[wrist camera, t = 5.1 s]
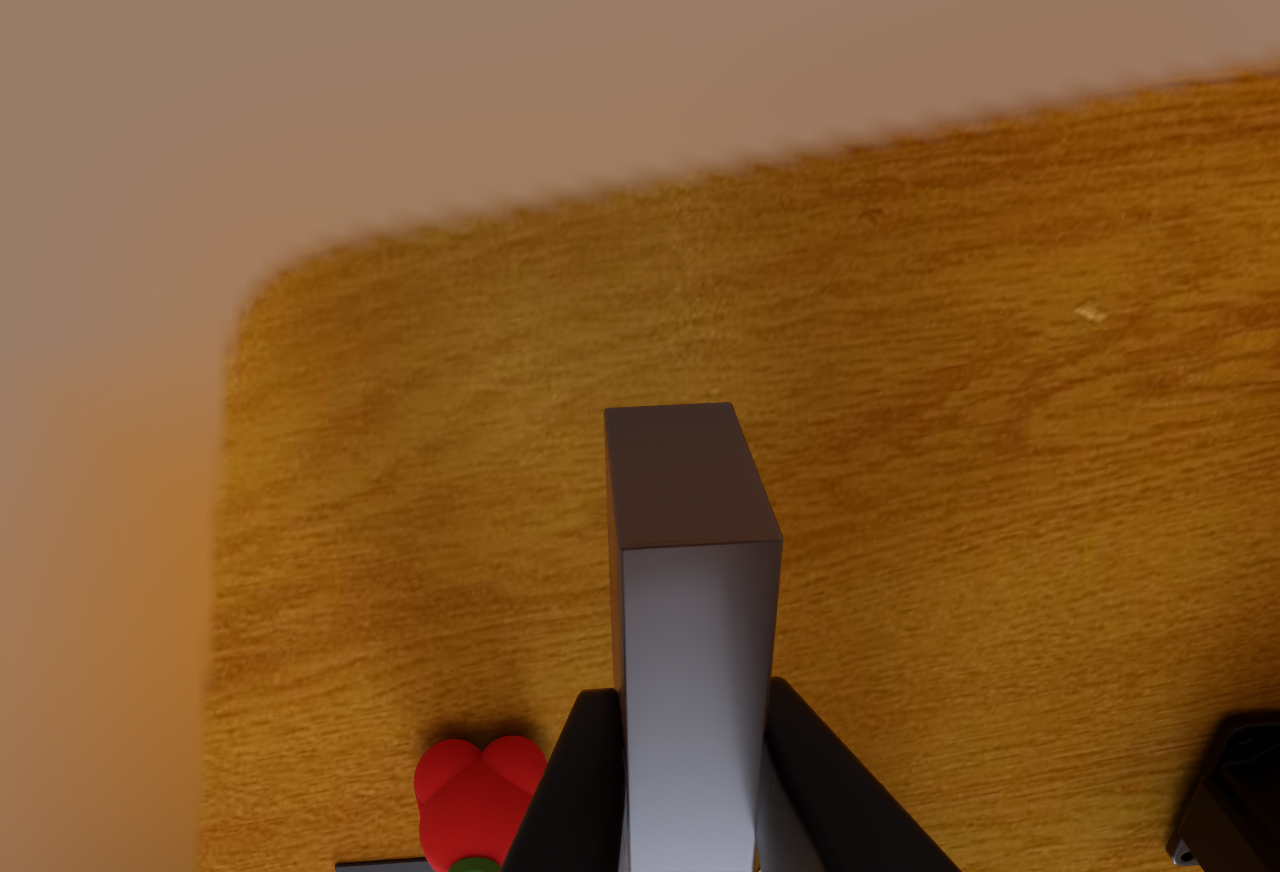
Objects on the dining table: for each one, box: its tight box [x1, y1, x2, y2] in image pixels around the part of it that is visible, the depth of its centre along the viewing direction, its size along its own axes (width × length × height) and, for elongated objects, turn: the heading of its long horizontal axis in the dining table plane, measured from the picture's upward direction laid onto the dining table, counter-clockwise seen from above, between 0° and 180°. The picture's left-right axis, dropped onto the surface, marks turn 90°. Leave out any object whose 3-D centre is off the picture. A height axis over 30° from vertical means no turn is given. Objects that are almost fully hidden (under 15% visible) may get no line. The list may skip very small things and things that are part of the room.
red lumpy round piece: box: [414, 735, 547, 872], centre depth 23 cm, size 4×3×4 cm
